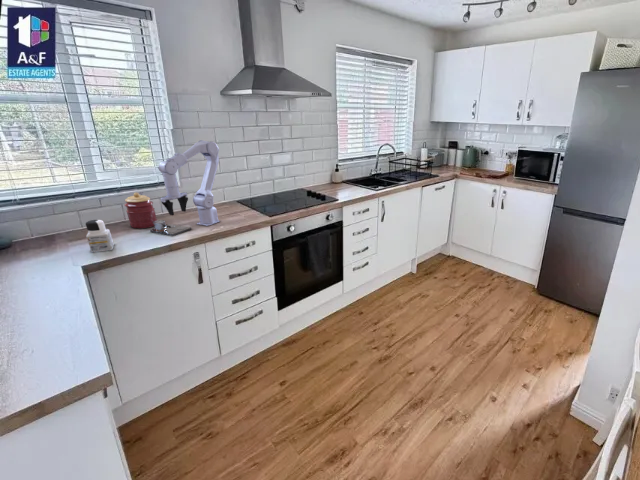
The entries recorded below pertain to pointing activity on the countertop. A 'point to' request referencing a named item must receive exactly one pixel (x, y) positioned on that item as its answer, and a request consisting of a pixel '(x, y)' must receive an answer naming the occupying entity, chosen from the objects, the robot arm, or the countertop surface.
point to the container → (98, 236)
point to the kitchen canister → (140, 211)
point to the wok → (160, 225)
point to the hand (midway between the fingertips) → (177, 213)
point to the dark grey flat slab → (172, 230)
